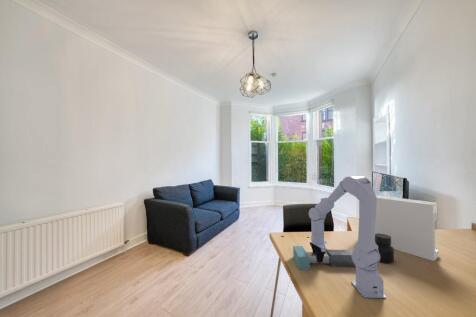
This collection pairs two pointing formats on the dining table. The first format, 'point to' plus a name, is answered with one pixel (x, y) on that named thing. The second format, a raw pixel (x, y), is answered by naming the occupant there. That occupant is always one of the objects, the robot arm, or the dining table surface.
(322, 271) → the dining table surface
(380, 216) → the block
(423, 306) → the dining table surface
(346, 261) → the dark grey rectangular bar
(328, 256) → the grey square bar
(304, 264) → the socket block
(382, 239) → the ink bottle
